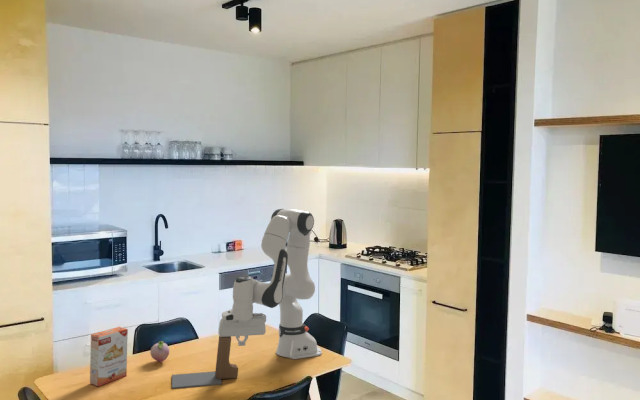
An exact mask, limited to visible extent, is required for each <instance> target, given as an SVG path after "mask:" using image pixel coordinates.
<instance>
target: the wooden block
mask: <svg viewBox="0 0 640 400" xmlns="http://www.w3.org/2000/svg"><path fill="white" fill-rule="evenodd" d="M231 344H232V336H231V337H220V336H219V335H218V344H217V354H216V362H215V376H216V378H217V379H221V380H223V379H237V378H238V375H239V367H238V365H237V364H234V363H230V353H231Z"/></svg>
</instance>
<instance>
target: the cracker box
mask: <svg viewBox="0 0 640 400" xmlns="http://www.w3.org/2000/svg"><path fill="white" fill-rule="evenodd" d="M128 331H129V330H128V328H125V327H121V326H118V327H114V328H111V329H106V330H102V331H98V332H95V333H92V334H90V353H89V354H90V359H89V360H90V361H89V363H90V365H89V367H90V368H89V370H90V371H89V384H91V385H93V386H96V387H101V386H104V385H106V384H109V383H111V382H114V381H117V380H120V379H122V378H125V377H127V373H128V372H127V369H128V335H129V334H128V333H129V332H128Z"/></svg>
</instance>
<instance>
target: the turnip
mask: <svg viewBox="0 0 640 400" xmlns="http://www.w3.org/2000/svg"><path fill="white" fill-rule="evenodd" d="M169 355H170V348H169V346H168V344H167V343H166V342H164V341H162V340H159V341H158V342H157V343H155V344H153V345H152V346H151V347H150V356H151V358H152V359H153V360H155V361H156V362H159V363H162V362H164V361H165V360H167V358H168V357H169Z"/></svg>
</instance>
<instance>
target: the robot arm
mask: <svg viewBox="0 0 640 400" xmlns="http://www.w3.org/2000/svg"><path fill="white" fill-rule="evenodd" d="M314 224H315V218H314V216H313V214H312V213H311V212H310V211H306V210H299V209H295V208H294V209H293V208H292V209H291V208H289V209H287V208H286V209H284V208H278V209H276V210H274V211H273V213H272V215H271V217H270V221H269V223H268V225H267V226H266V229H265V230H264V234H263V237H262V239H261V244H260V245H261V249H262V252H263V253H264V254H265V255H266V256H267V257H269V258H270V259H271V260H272V261H273V264H274V266H273V270H272V271H273V272H272V276H271V279H270V282H269V283H267V282H263V281H259V280H256V279H254V278H253V277H252V276H251V275H240V276H238V277H237V278H235V280H234V282H233V288H232V301H233V303H232V308H231V309H229V310H226V311H223V312H222V313H221V319H219V324H218V332H217V333H218V337H219V336H220V337H231V338H232V337H235V339H236V340H237V342H238V343H237V344H238V345H237V346H238V347H242V346H246V343H247V341H248V339H249V336H261V335H265V334H266V330H267V329H266V321H267V315H266V314H264V313H263V312H261V313H260V312H259V313H256V312H255V313H254V304H258V305H263V306H265V307H268V308H270V309H273V308H275V307H277V306H278V305H279V313H280V314H279V316H280V317H279V319H280V320H279V325H278V336H279V337H278V342H277V343H278V344H277V347H276V351H275V353H276V355H278V356H279V357H284V358H287V359H288V358H289V359H291V360H298V359H299V360H300V359H305V358H310V357H318V356H321V355H323V354H322V349H321V348H320V347H319V346H318V344H317V340H316V339H315V337H314V336H313V335H311V334H310V333H309V332H308V331H309V330H310V328H309V327H308V326H307V325H306V324H304V323H303V320H304V319H303V316H304V314H303V312H304V310H303V307H302V306H301V304H299V302H298V300H309V299H311V298H312V297H313V296H314V294H315V292H316V286H315V282H314V281H313V279H312V278H311V276H310V273H309V268H308V259H309V258H308V257H309V251H310V245H311V244H310V242H311V237H310V233H311V231H312V229H313V228H314ZM287 267H288V268H289V272H290V273H287V272H286V271H287ZM240 337H244V338H243V340H240Z"/></svg>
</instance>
